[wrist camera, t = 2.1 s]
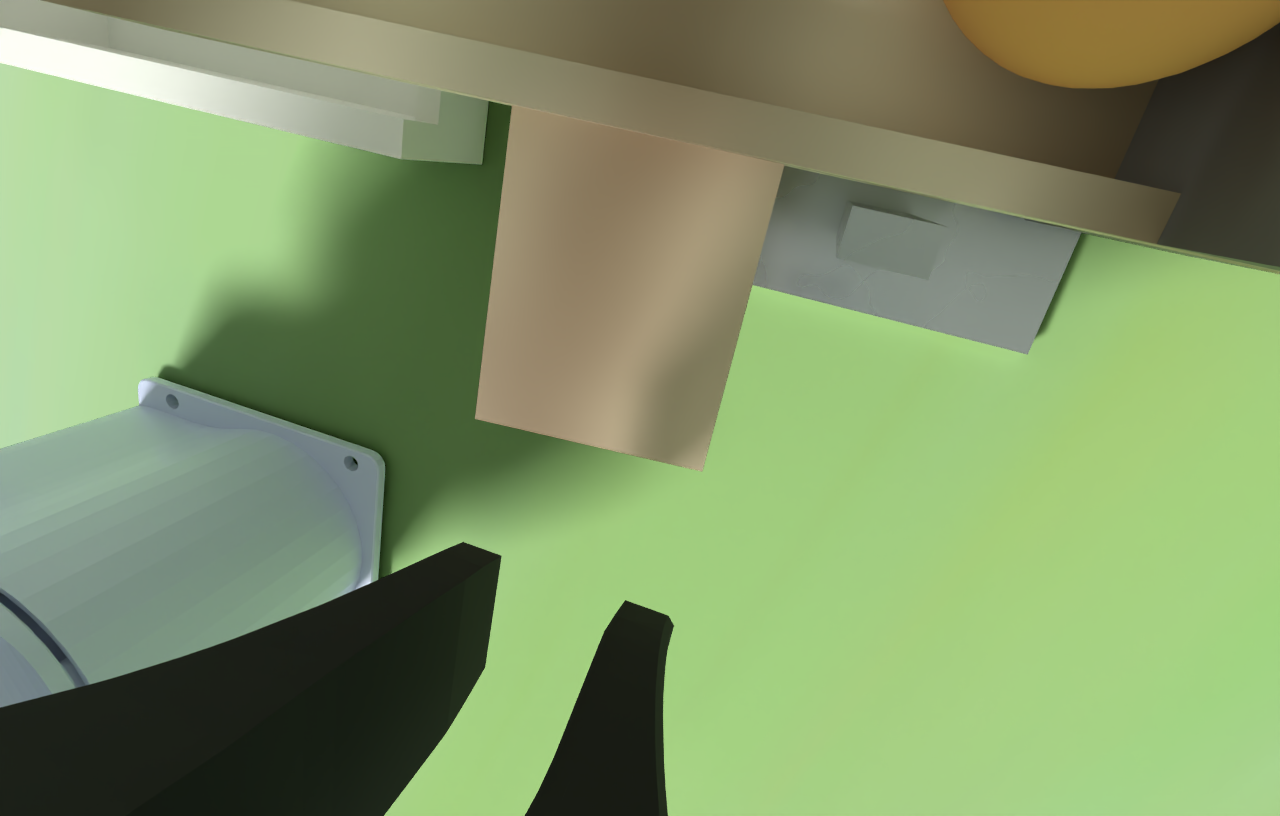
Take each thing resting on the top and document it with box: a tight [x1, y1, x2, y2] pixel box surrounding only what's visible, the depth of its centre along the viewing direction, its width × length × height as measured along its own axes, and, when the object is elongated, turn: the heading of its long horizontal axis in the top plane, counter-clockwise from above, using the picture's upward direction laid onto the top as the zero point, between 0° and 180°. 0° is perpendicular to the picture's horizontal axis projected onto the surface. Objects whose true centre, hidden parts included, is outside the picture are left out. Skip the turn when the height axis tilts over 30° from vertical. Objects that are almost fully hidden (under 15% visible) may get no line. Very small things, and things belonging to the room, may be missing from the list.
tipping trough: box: [42, 0, 1280, 471], centre depth 9 cm, size 18×12×7 cm, turn 78°
